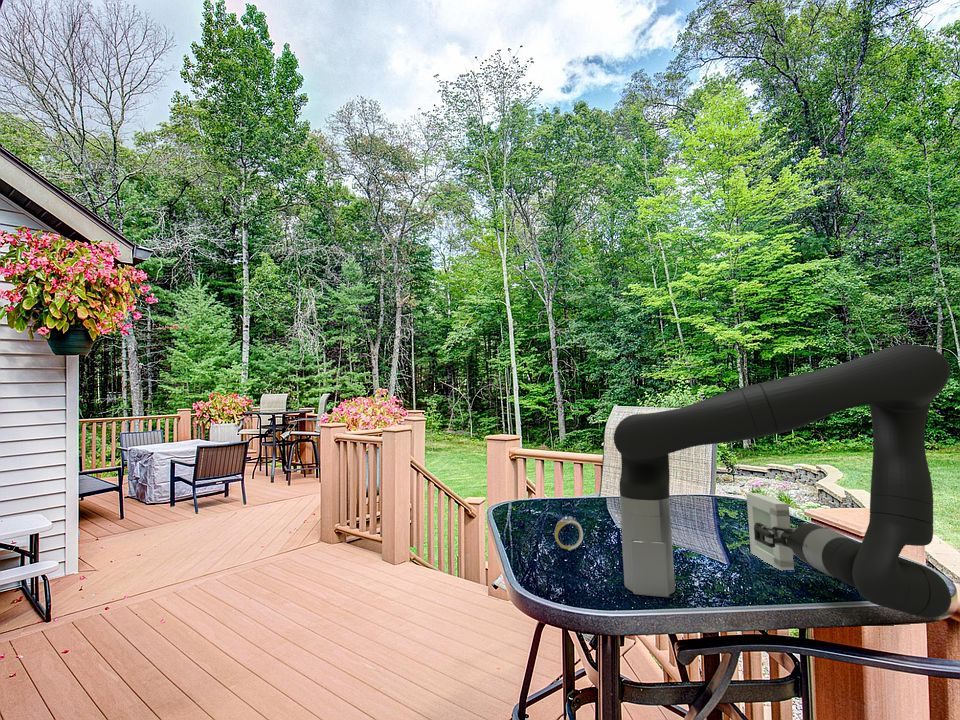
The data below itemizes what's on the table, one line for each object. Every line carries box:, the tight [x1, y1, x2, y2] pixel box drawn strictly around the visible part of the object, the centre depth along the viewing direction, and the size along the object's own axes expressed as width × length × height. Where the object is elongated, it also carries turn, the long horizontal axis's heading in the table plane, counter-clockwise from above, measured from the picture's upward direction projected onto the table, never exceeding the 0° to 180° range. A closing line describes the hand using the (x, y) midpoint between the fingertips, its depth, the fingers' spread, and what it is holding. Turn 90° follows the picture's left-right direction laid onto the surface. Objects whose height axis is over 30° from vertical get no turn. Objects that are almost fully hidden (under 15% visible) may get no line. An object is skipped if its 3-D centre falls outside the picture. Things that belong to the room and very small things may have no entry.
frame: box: [746, 492, 795, 571], centre depth 102 cm, size 13×3×14 cm, turn 174°
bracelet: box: [554, 515, 584, 551], centre depth 114 cm, size 7×3×8 cm, turn 89°
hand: (778, 527), depth 99 cm, fingers open, 8 cm apart
